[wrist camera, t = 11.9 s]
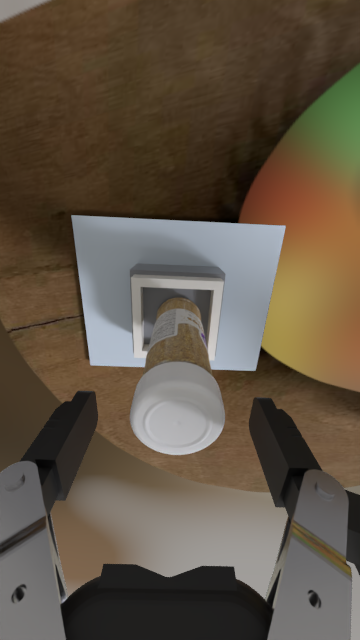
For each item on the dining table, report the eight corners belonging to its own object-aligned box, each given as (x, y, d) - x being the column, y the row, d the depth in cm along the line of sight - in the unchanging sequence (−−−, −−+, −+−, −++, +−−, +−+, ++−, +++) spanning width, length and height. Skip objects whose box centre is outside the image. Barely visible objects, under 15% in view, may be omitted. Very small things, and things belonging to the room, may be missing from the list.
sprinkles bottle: (208, 323, 23) (244, 436, 11) (171, 344, 24) (164, 471, 12) (185, 286, 22) (194, 367, 9) (146, 310, 22) (107, 414, 10)
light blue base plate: (282, 225, 24) (315, 225, 18) (253, 367, 31) (271, 400, 25) (74, 215, 23) (40, 211, 18) (92, 361, 30) (72, 393, 25)
